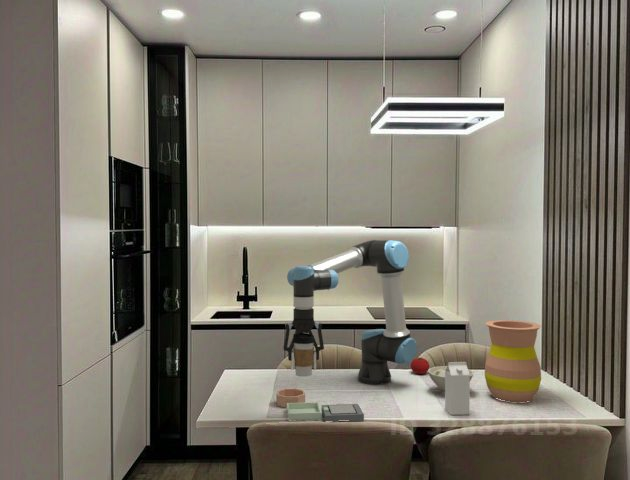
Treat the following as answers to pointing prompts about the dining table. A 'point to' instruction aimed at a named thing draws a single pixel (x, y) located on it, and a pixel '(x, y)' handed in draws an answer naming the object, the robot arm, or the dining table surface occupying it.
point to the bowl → (441, 376)
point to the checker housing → (336, 417)
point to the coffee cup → (303, 354)
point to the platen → (342, 409)
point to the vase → (513, 361)
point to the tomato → (419, 366)
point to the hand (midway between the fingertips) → (303, 368)
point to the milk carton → (457, 388)
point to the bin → (290, 397)
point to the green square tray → (304, 411)
